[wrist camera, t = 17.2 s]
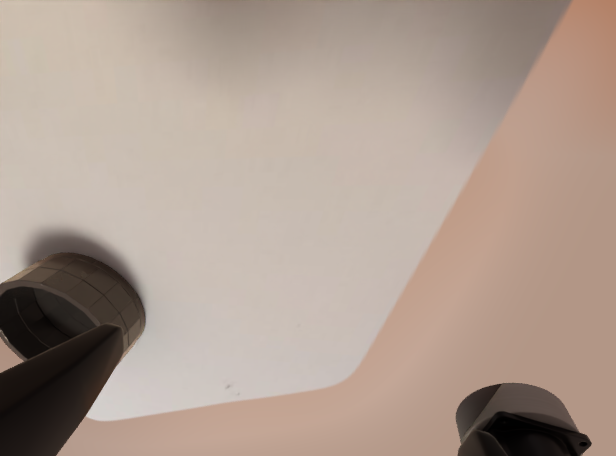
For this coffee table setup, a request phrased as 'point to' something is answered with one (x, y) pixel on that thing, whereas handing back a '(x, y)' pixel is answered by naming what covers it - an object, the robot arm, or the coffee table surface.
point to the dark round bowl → (66, 304)
